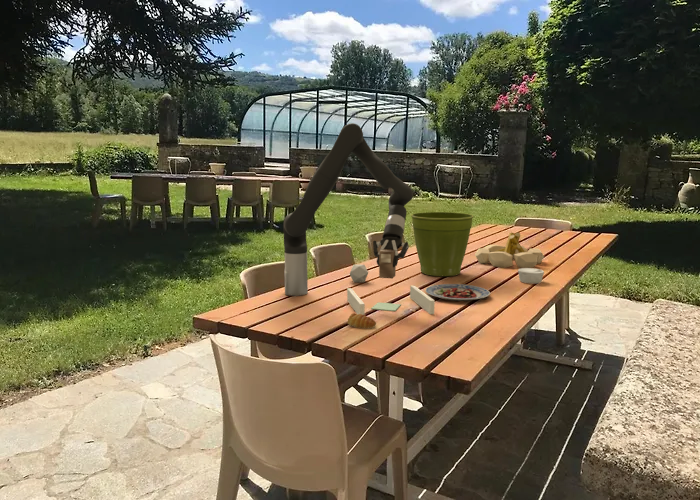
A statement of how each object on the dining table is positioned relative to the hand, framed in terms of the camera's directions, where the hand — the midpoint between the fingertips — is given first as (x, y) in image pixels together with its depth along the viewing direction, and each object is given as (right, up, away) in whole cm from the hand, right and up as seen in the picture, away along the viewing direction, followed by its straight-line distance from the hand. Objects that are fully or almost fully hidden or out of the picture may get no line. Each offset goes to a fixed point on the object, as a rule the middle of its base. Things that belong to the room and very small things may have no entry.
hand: (386, 265), depth 200 cm
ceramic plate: (+30, -13, +21) cm, 39 cm away
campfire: (+73, -1, +95) cm, 119 cm away
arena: (+1, -16, +4) cm, 16 cm away
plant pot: (+31, -6, +66) cm, 73 cm away
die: (-9, -9, +47) cm, 49 cm away
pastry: (-10, -20, -19) cm, 29 cm away
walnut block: (+1, -4, +3) cm, 5 cm away
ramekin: (+69, -9, +48) cm, 84 cm away
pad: (0, -16, +3) cm, 16 cm away
